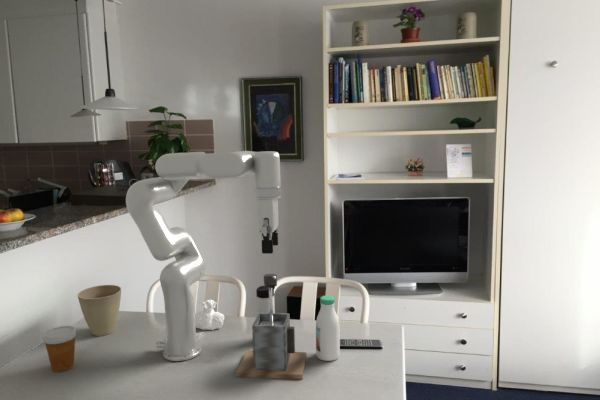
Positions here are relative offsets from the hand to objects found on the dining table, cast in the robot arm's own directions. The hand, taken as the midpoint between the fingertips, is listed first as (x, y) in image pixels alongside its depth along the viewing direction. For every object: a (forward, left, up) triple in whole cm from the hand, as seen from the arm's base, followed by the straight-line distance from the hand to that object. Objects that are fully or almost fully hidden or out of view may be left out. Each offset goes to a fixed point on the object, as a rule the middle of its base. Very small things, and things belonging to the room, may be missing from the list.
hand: (270, 249), depth 138 cm
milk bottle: (+17, +8, -38) cm, 42 cm away
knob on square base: (0, 0, -25) cm, 25 cm away
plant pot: (-68, +21, -38) cm, 81 cm away
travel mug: (-5, +18, -38) cm, 42 cm away
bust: (-29, +28, -38) cm, 56 cm away
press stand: (0, 0, -38) cm, 38 cm away
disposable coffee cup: (-67, -5, -38) cm, 78 cm away
